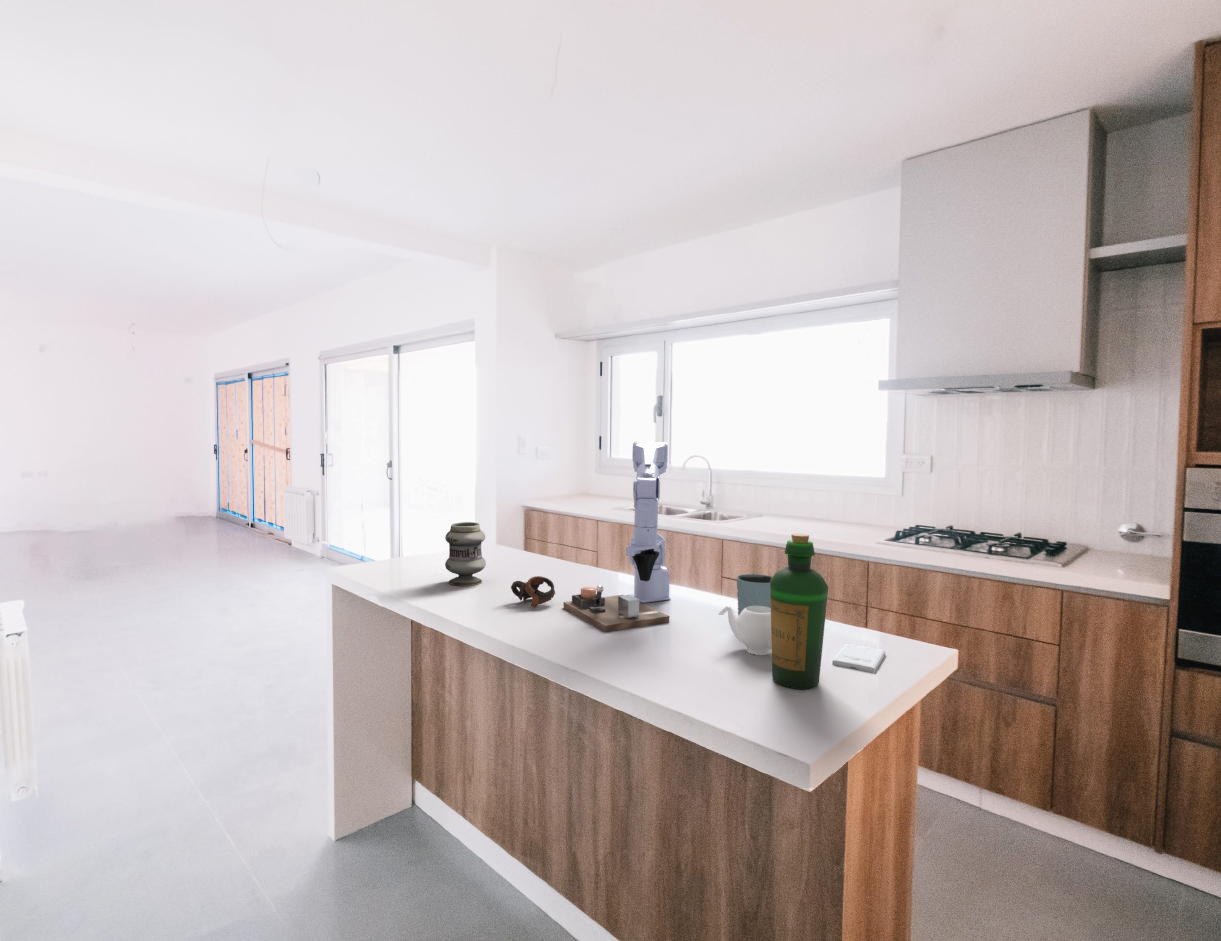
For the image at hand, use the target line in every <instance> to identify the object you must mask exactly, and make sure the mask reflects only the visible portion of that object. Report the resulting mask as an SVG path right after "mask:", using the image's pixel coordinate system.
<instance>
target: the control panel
mask: <svg viewBox="0 0 1221 941" xmlns="http://www.w3.org/2000/svg"><path fill="white" fill-rule="evenodd" d="M596 595H597V593H596ZM618 596H624V594H618V595H611V596H604V597H603V596H601V601H600V603H601V604H602V606H601V607H593V604H596V603H595V602H596V598H594V599H586V600H584V599H582V598H581V593H578V594H572V595H571V600H570V601H564V602H563V609H565V610H567V611H569V612H571V613H572V614H573V615H575V616H577V617H579V618H580V619H582V620H584V621H585V622H586V623H589V624H590V625H592V626H594V627H596V628H597V629H599V630H601V631H603V632H605V633H607V632H614V631H620V630H628V629H632V628H639V627H645V626H654V625H660V624H666V622H667V623H670V615H668V614H665V613H663V612H661V611H659V610H656V609H655V608H652V607H650V606H648V605H646V604H644V603H641V602H639V617H633V618H627V617H625V616H623V615H621V614H619V613H618Z"/></svg>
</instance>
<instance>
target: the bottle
mask: <svg viewBox="0 0 1221 941" xmlns="http://www.w3.org/2000/svg"><path fill="white" fill-rule="evenodd" d="M784 554H786V555H787V564H788V565H787V566H785V567H783V568H781V569H779V570H778V571H776V572H775V573H774V575H772V578H771V580H770V604H771V644H772V649H771V665H772V666H771V674H772V675H771V676H772V680H774V681H775V682H776V683H778V684H780V685H781V686H784V687H787V688H790V689H799V690H803V689H805V690H806V689H810V688H814V687H816V686H817V685H818V684H819V683H820V677H821V676H820V675H821V666H822V664H821V663H822V656H823V644H824V637H825V636H824V634H825V623H826V614H827V604H828V594H829V593H828V592H829V585H828V583H827V582H826V581H825V579H824V577H823V575H821V574H820V573H819V572H818V571H816V570H815V569H814V568H811V564H812V557H814V556H815V555H816V553H815V548H814V542H813V541H811V540H810V535H809V534H806V533H791V539H788V540H787V542H786V544H785V550H784Z"/></svg>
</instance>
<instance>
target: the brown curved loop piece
mask: <svg viewBox="0 0 1221 941" xmlns="http://www.w3.org/2000/svg"><path fill="white" fill-rule="evenodd" d="M544 583H545V584H546V585H547V587H550V589H549V590H548V591H545V592H544V591H541V590H539V587H540V586H541V585H544ZM510 589H511V591H512V593H513V595H514V596H516V597H518V599H519V601H522V600H523V601H526V600H527V599H531V598H532V600H531V602H530V604H529V605H530V607H533V608H534V609H535V608H538V606H539V605H541V604H545V603H548V602H550V601H551V600H552V599H553V598H554V596H555V595H556V591H555V585H554V583H553V581H552V580H551V579H549V578H547V577H545V576H541V575H538V576H537V575H536V576H532V577H529V579H528V580H527V581H526V582H524V581H522V580H516V581H514V582H512V584H511V585H510Z"/></svg>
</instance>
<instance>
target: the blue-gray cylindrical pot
mask: <svg viewBox="0 0 1221 941" xmlns="http://www.w3.org/2000/svg"><path fill="white" fill-rule="evenodd" d="M772 577H773V575H772V576H771V575H765V574H758V573H757V574H755V573H753V574H752V573H748V574H740V575H737V576H736V589H737V592H736V595H737V614H738V615H737V617H738V616H739V615H740V613H741V612H742V610H743V609H744V608H746V607H748V606H764V607H768V608H771V604H770V580H771V578H772Z"/></svg>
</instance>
